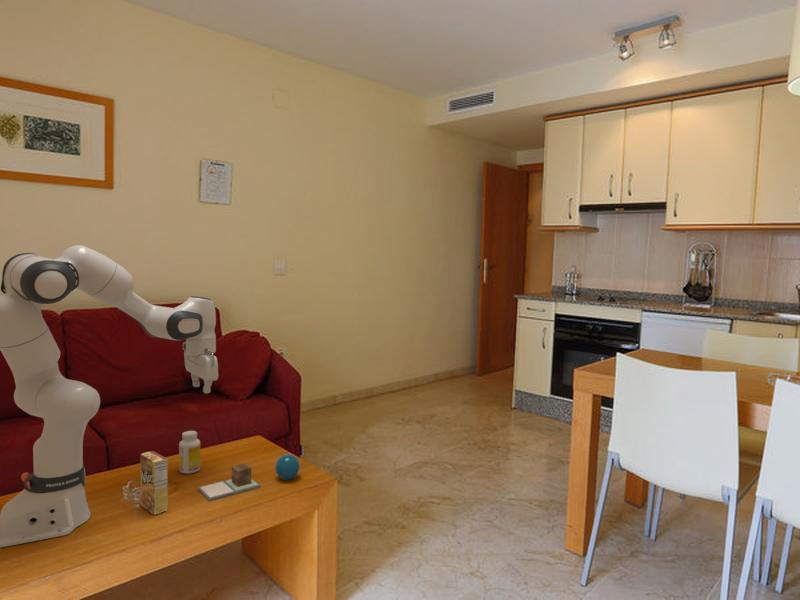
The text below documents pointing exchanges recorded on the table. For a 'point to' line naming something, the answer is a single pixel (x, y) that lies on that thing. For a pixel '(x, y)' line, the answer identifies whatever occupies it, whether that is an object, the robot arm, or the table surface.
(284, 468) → the ball
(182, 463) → the supplement bottle
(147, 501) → the candy box
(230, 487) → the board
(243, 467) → the walnut token
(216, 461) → the table surface
